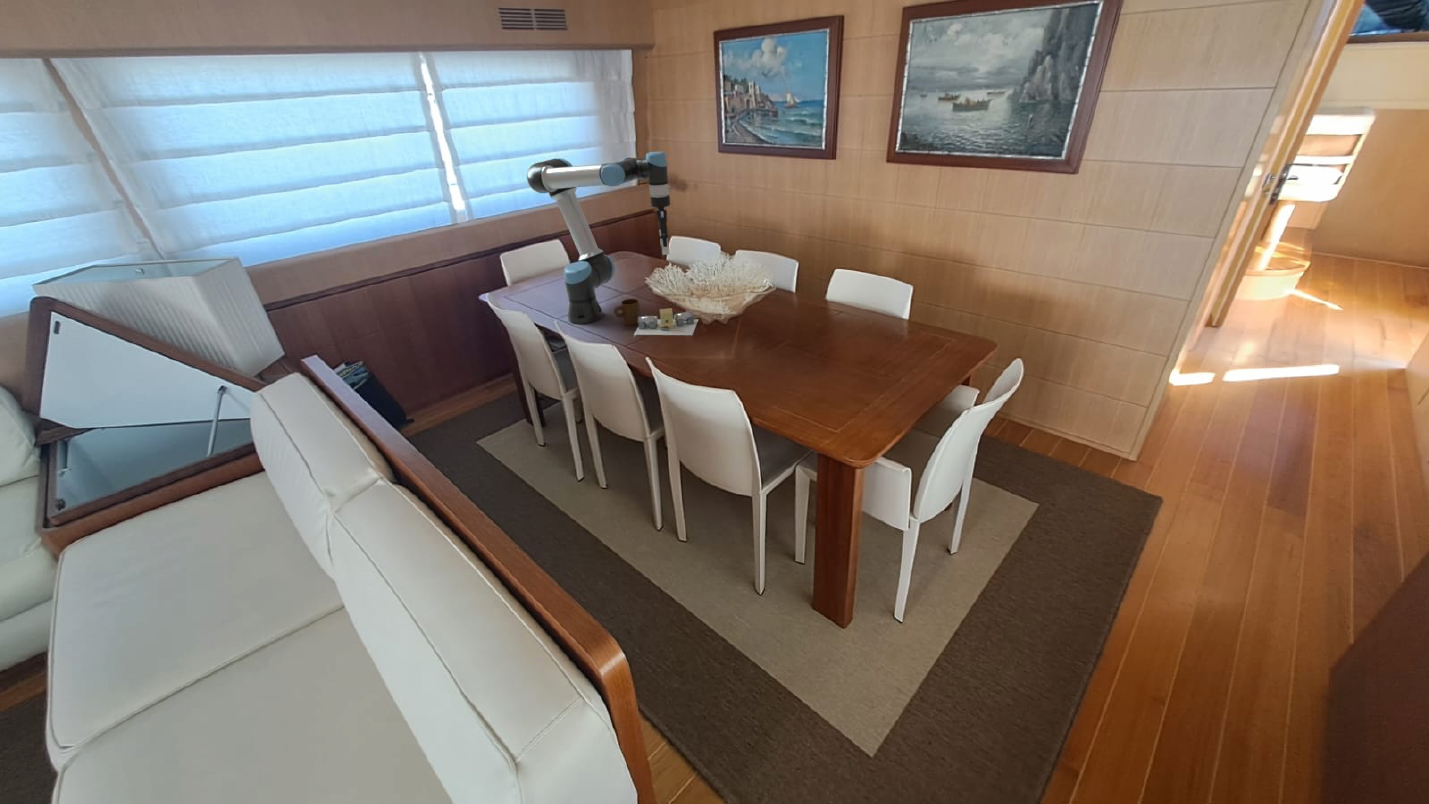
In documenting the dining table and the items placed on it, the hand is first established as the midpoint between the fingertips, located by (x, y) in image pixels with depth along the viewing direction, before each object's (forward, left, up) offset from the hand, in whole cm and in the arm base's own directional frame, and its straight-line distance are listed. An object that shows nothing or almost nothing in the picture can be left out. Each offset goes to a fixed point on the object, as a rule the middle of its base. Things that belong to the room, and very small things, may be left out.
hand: (665, 249), depth 223 cm
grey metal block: (+13, -4, -27) cm, 31 cm away
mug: (-7, -18, -29) cm, 35 cm away
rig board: (+10, -11, -29) cm, 32 cm away
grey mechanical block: (+5, -16, -28) cm, 32 cm away
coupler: (+11, -11, -28) cm, 32 cm away
